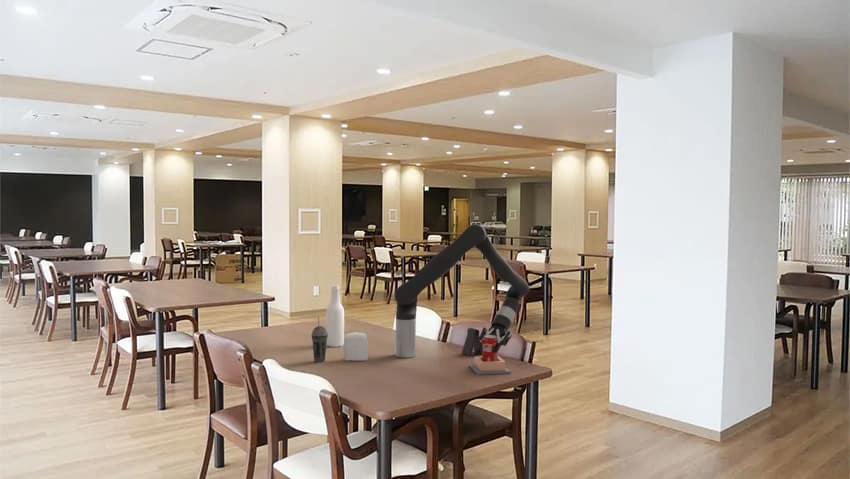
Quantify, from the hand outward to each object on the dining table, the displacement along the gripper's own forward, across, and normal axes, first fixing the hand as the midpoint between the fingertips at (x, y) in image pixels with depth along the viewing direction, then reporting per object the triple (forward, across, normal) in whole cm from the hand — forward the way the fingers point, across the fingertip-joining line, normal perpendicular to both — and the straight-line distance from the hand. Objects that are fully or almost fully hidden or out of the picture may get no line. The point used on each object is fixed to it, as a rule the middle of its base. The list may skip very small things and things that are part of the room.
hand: (487, 350), depth 252 cm
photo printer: (+24, -54, -12) cm, 60 cm away
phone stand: (-8, -23, +21) cm, 32 cm away
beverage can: (+3, 0, +6) cm, 7 cm away
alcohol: (+14, -84, -2) cm, 85 cm away
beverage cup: (+33, -63, -21) cm, 74 cm away
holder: (+5, 0, +7) cm, 9 cm away
